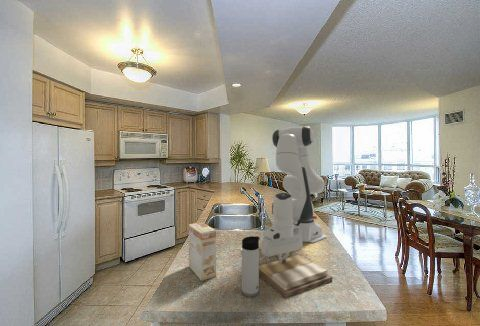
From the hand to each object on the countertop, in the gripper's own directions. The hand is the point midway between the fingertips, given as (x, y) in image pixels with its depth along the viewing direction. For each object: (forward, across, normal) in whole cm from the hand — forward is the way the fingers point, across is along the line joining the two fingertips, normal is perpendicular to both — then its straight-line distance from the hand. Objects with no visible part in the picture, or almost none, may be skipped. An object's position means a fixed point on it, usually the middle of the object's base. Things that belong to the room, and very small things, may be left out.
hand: (282, 262), depth 99 cm
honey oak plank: (+2, -1, +2) cm, 3 cm away
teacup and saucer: (+4, +5, -26) cm, 27 cm away
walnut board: (+4, -1, +6) cm, 7 cm away
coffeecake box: (+4, +32, -16) cm, 36 cm away
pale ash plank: (+2, -1, +10) cm, 10 cm away
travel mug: (+4, +20, +7) cm, 22 cm away
